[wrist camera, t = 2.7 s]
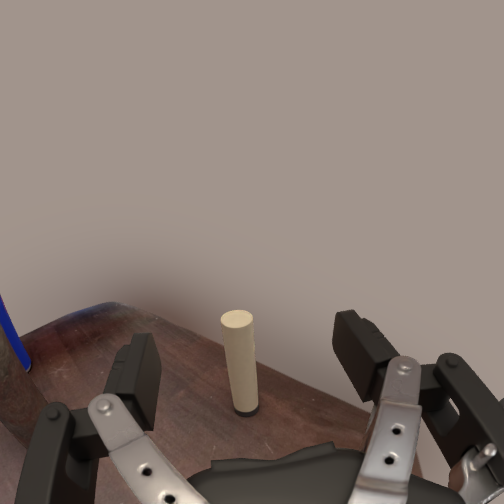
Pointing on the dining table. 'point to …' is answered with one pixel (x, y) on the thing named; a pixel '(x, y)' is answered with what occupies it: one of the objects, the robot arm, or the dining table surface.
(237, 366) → the beige cylinder
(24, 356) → the beverage can
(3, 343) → the candle
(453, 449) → the robot arm
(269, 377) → the dining table surface
